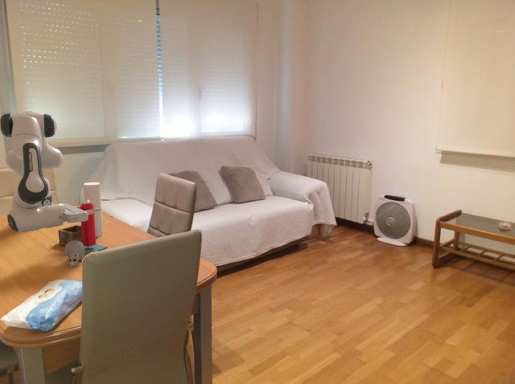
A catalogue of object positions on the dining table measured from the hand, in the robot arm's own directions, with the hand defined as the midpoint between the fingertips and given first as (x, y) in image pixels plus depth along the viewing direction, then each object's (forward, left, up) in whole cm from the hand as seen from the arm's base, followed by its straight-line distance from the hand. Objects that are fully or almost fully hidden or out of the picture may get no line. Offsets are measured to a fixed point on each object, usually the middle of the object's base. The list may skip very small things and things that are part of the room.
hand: (89, 209), depth 172 cm
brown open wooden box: (-14, +3, -18) cm, 23 cm away
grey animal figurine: (+7, -14, -18) cm, 24 cm away
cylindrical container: (-15, +15, -18) cm, 27 cm away
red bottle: (0, -1, -15) cm, 16 cm away
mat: (0, -1, -18) cm, 18 cm away
